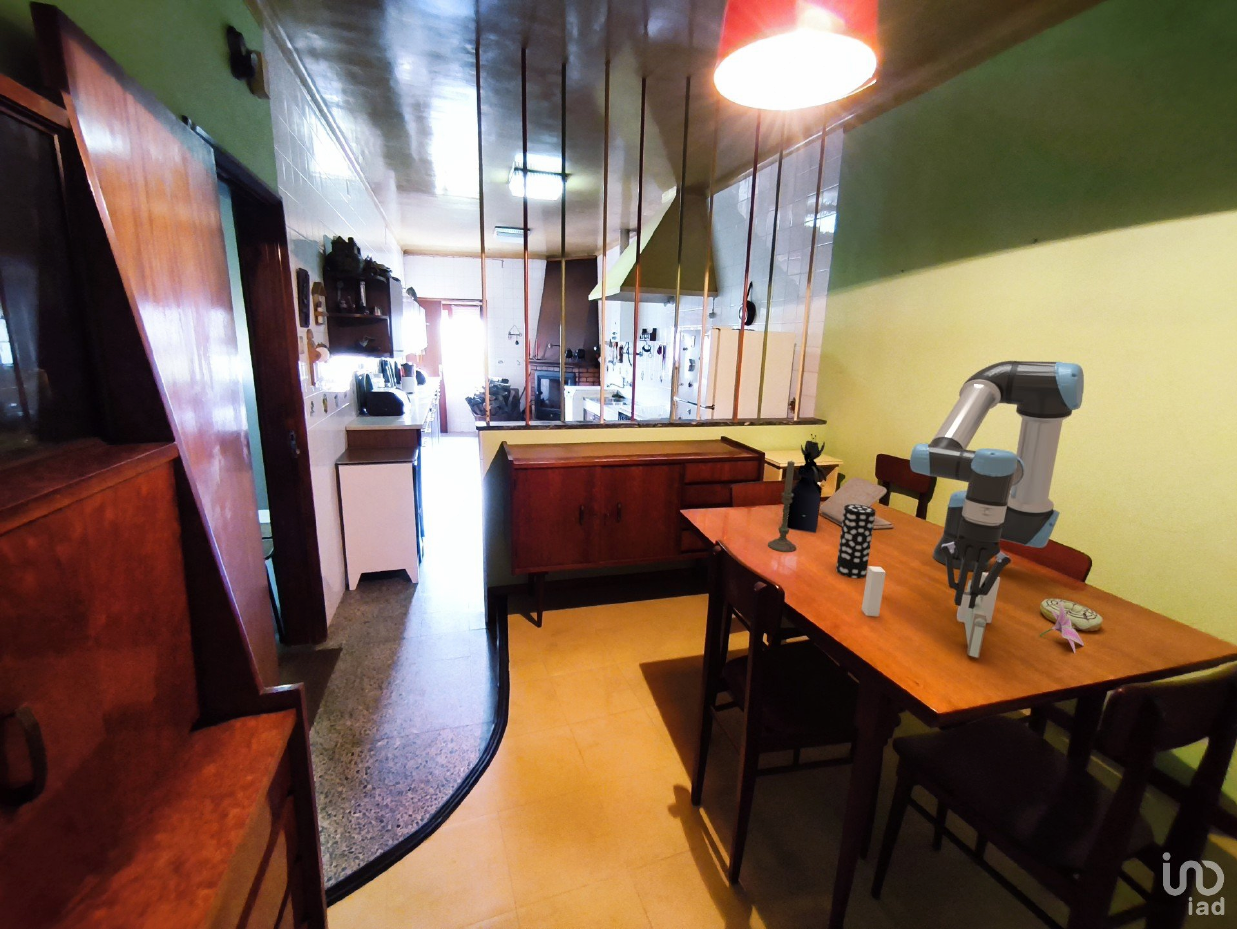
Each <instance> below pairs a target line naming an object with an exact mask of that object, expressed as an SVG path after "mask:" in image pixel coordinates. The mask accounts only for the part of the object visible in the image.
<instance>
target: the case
mask: <svg viewBox="0 0 1237 929" xmlns="http://www.w3.org/2000/svg"><path fill="white" fill-rule="evenodd" d="M887 491H888V490H887V488H886V487H884V486H882V485H880V484H877V483H874V482H872V481H870V480H866V479H864V478H860V477H857V476H854V477H852V478H850V479H849V480H848V481H846V482H845V483H844V484H843V485H842V486H841V487H840V488H839V489H837V490H836V491H835V492H834V493H833V494H832V495H831V496H830V497H828V499H827V500H825V501H824V502H823V503H822V504H820V508H819V512H820V515H821V516H822V517H824V518H826V519H828V520H829V521H832V522H833V523H834V524H837V525H839V526H840V527H842V521H843V514H844V506H845V505H849V504H856V505H863V506H868V507H871V508H872V506H873V505H874V504H876V502H877V501H879V500H880V499H881V498H883V497H884V496H885V495H886V494H887ZM894 527H895V526H894V524H892V523H891V522H890V521H888V520H885V519H883V518H882V517H880V516H877V515H875V519H874V526H873V530H875V529H876V530H877V529H878V530H879V529H892V528H894Z"/></svg>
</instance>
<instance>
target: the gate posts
mask: <svg viewBox="0 0 1237 929" xmlns="http://www.w3.org/2000/svg"><path fill="white" fill-rule="evenodd" d="M988 573H989V572H984V571H983V572H982V577H981V581H980V586H979V587H981V585H982V583H983V582H984V580H985V578H986V576H987V575H988ZM885 579H886V571H885V570H884V569H883V568H882V567H881V566H871V565H870V566H869V565H868V566H867V573H866V579H865V583H864V584H865V585H864V586H865V587H864V592H863V598H862V599H863V600H862V606H861V611H862V612H863V613H864V615H865V616H867V617H879V616H880V610H881V605H882V598H883V592H884V585H885ZM1000 581H1001V578H1000V577H999V576H998V578H997V579H996V581H995V583H994V584H993V586H992V588H991V590H990V591H989V593H988V595H986V596H984V595H980V598H981V603H982V607H983V612H984V615H985V616H986V618H987V622H986V624H991V623H992V619H993V615H994V611H995V606H996V605H995V604H996V601H997V600H996V599H997V595H998V591H999V585H1000Z"/></svg>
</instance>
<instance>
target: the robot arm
mask: <svg viewBox="0 0 1237 929" xmlns="http://www.w3.org/2000/svg"><path fill="white" fill-rule="evenodd" d="M1084 378H1085V377H1084V371H1083V368H1082V366H1081V365H1080V364H1078V363H1074V362H1073V363H1072V362H1063V361H1035V360H1034V361H1030V360H1029V361H1027V360H1026V361H1025V360H1021V361H1020V360H1005V361H1000V362H997V363H993V364H991V365H990V364H989V365H988V366H985V367H984V368H982V369H980V370H978V371H976V372H975V373H974V374H972V375H971V376H969V378H968V379H967V380H965V382H964V383H963V384H962V386H961V388H960V389H959V392H958V393H959V395H958V396H959V398H958V399H957V401H956V403H955V404H954V405H953V407H952V409H951V410H950V412H949V413H948V415H947V417H946V418H945V419H944V421H943V423H942V425H941V426H940V428H939V429H938V430H937V431H936V434H935V435H934V437H933V438H932V440H931V441H930V443H926V442H925V443H917V444H916V445H915V446H913V448H912V451H911V453H910V459H909V466H910V470H911V471H912V472H914V473H917V474H922V475H925V476H928V477H935V478H942V479H948V480H954V481H959V482H964V483H968V484H967V489H965V490H957V491H954V492H953V493H952V494H951V495H950V496H949V501H948V504H947V510H946V516H945V522H944V527H943V534H942V535H941V538H940V539H939V541H938V542H937V544H936V546H935V547H934V549H933V553H932V558H933V559H934V560H935V561H936V562H938V563H940V564H943V565H945V566H946V576H947V584H948V587H949V589H952V590H954V591H955V595H954V598H953V601H954V605H955V606H958V608H957V613H956V620H957V622H960V623H964V624H965V621H966V616H967V611H968V608H971V609H973V608H974V606H975V601H976V597H978V595H984V596H986V595H988V593H989V591H990V590H991V588H992V586H993V584H994V583H995V581H996V579H997V578H998V577H999V576H1000V574H1001V573H1002V571H1003V569H1004V568H1005V567H1006V566H1008V565H1009V564H1011V561H1012V560H1011V558H1010V556H1009V555H1008V554H1006V553H1004V552H1003V551H1002V550H1001V546H1000V541H1001V540H1002V541H1006V542H1010V543H1014V544H1018V545H1023V546H1024V547H1032V548H1038V549H1041V548H1044V547H1046V546H1047V544H1048V542H1049V540H1050V537H1051V536H1052V533H1053V531H1054V528H1055V526H1056V524H1057V523H1058V522H1057V521H1058V519H1059V517H1060V514H1061V513H1060V511H1058V510H1056V509H1054V508H1055V507H1054V505H1055V504H1054V502H1053V500H1051V499H1050V498H1049V497H1050V492H1051V487H1052V486H1051V485H1052V479H1053V474H1054V468H1055V464H1056V458H1057V453H1058V448H1059V444H1060V443H1059V442H1060V436H1061V430H1062V426H1063V421H1064V420H1066V419H1068V418H1069V417H1071V416H1072V413H1073V411H1075V410H1079V409H1080V408H1081V406H1082V403H1083V397H1084V396H1083V395H1084V389H1085V382H1084V381H1085V379H1084ZM998 404H1006V405H1016V409H1015V413H1016V414H1017V415H1018V416H1019V417H1020V418H1021V422H1020V430H1019V435H1018V441H1017V448H1016V453H1014V452H1012V451H1010V450H1004V449H997V448H979V449H976V450H971V449H967V448H968V446H969V445H970V443H971V442H972V440H973V438H974V436H975V435H976V433H977V432H978V429H980V426H981V424H982V423H983V421H984V419H985V418H986V416H987V414H988V413H989V411H990V410H991V409H993V408H995V407H996V406H997V405H998ZM994 557H995V561H994V563H993V564H992V566H991V568H990V564H991V563H990V562H991V559H992V558H994ZM989 568H990V570H989ZM955 569H957V570H959V573H958V579H957V582H956V580H955V579H956V578H955ZM987 570H989V571H988V572H987V573H988V575H987V576H986V578H985V580H984V582H983V583H982V585H981V587H979V586H980V581H981V577H982V572H984V571H987ZM969 572H973V573H972V577H971V580H972V581H971V585H970V592H969V591H967V590H965V589H966V585H967V581H968V576H969Z"/></svg>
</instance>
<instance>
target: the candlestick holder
mask: <svg viewBox="0 0 1237 929" xmlns="http://www.w3.org/2000/svg"><path fill="white" fill-rule="evenodd" d="M794 471H795V462H794V461H793V460H789V461H787V465H786V474H785V484H784V492H781V496H782V498H781V502H782V503H783V504H784V505H783V507H782V523H781V526H779V527H778V534H779V537H777V538H774V539H772V540H769V541H768V543H767V546H768V548H770V549H771V550H773V551H777V552H781V553H792V552H795V551H796V550H797V546H796V544H794V543H793V542H792V541H791V540H789V539H788V538H787V535H788V534H789V533H790V529H789V528H787V520H788V513H789V504H790V503H792V497H793V496H794V494H792V493H791V491H792V487H793V481H794Z"/></svg>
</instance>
